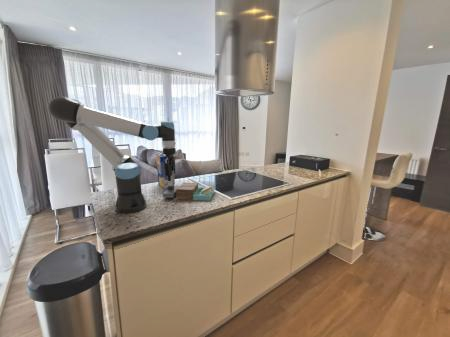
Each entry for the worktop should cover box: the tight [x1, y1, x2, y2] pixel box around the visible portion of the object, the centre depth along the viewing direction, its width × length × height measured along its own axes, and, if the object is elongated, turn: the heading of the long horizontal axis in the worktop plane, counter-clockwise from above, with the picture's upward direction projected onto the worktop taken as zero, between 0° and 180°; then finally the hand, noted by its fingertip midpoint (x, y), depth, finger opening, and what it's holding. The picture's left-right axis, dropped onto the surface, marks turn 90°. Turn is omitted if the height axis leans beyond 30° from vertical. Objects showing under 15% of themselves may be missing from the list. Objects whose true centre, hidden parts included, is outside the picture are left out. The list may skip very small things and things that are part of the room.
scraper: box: [162, 170, 180, 199], centre depth 130 cm, size 16×6×14 cm, turn 174°
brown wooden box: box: [175, 182, 199, 201], centre depth 130 cm, size 14×10×6 cm
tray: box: [193, 187, 215, 201], centre depth 130 cm, size 15×10×3 cm, turn 174°
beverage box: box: [155, 154, 168, 189], centre depth 151 cm, size 7×11×22 cm, turn 34°
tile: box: [201, 185, 213, 195], centre depth 129 cm, size 6×6×3 cm
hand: (171, 184), depth 131 cm, fingers closed on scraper, 3 cm apart
